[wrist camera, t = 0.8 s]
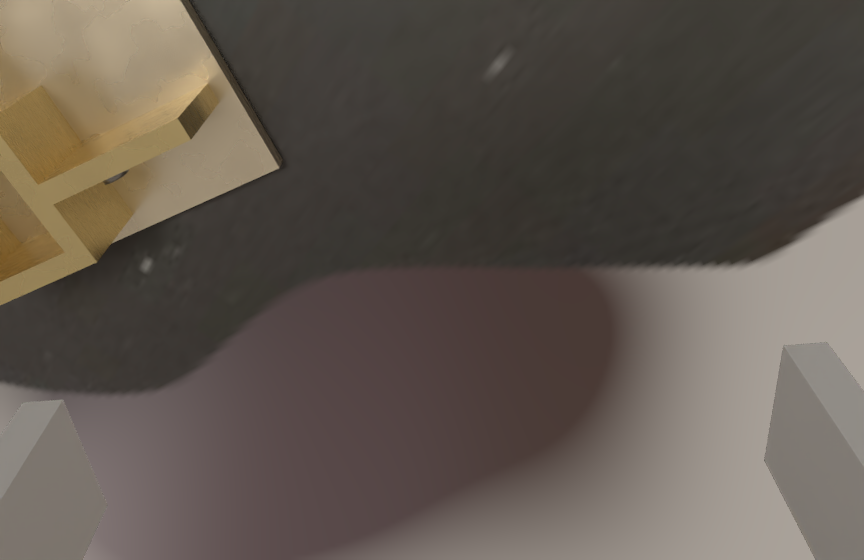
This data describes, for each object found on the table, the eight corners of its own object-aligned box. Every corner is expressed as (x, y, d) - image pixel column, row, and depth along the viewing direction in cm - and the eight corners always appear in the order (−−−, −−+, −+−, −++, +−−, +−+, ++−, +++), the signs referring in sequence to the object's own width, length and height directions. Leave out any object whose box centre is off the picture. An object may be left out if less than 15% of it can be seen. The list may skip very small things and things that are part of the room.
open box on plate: (24, 276, 43) (-32, 339, 37) (-209, -6, 35) (-320, 23, 30) (283, 160, 39) (260, 212, 34) (84, -179, 32) (16, -179, 27)
